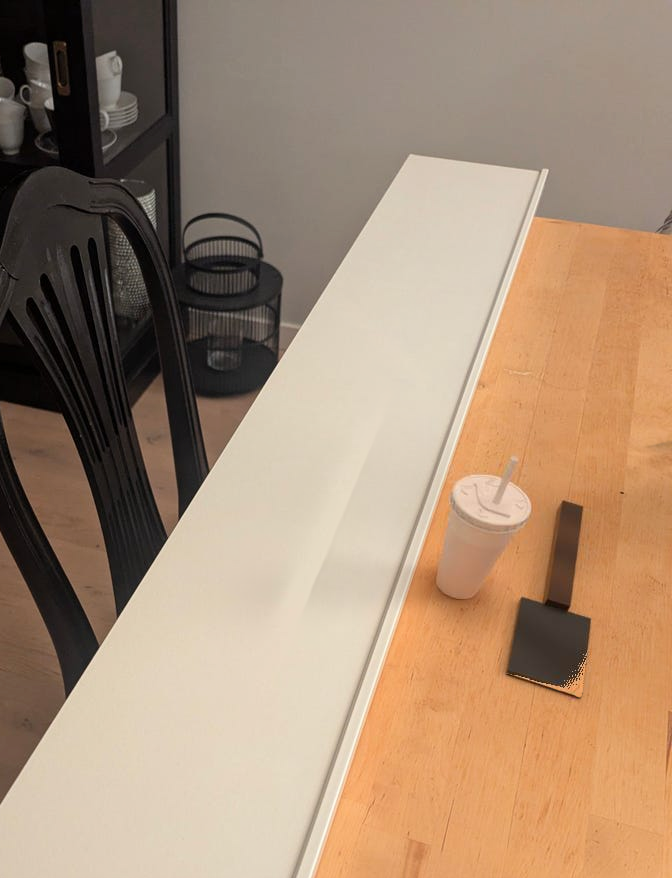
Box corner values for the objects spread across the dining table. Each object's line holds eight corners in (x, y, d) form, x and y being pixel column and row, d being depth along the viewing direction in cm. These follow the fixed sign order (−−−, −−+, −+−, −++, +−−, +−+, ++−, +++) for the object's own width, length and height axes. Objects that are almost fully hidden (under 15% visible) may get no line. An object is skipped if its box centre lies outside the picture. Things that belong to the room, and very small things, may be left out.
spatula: (537, 503, 89) (541, 493, 88) (599, 521, 87) (604, 512, 87) (505, 674, 73) (510, 664, 72) (580, 698, 72) (586, 689, 71)
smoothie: (446, 618, 77) (500, 488, 67) (406, 567, 81) (451, 437, 70) (508, 600, 79) (570, 471, 69) (466, 552, 83) (518, 422, 72)
